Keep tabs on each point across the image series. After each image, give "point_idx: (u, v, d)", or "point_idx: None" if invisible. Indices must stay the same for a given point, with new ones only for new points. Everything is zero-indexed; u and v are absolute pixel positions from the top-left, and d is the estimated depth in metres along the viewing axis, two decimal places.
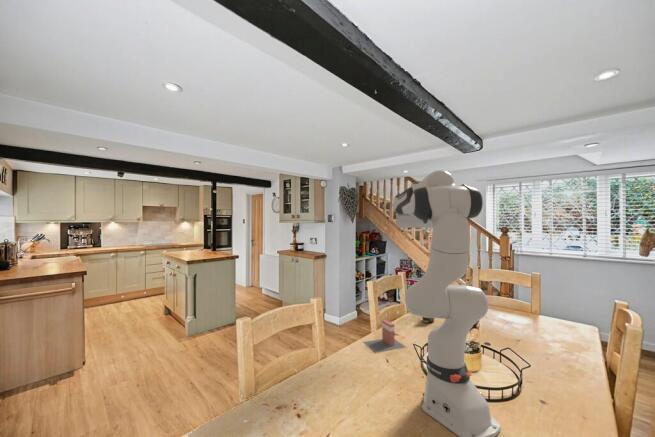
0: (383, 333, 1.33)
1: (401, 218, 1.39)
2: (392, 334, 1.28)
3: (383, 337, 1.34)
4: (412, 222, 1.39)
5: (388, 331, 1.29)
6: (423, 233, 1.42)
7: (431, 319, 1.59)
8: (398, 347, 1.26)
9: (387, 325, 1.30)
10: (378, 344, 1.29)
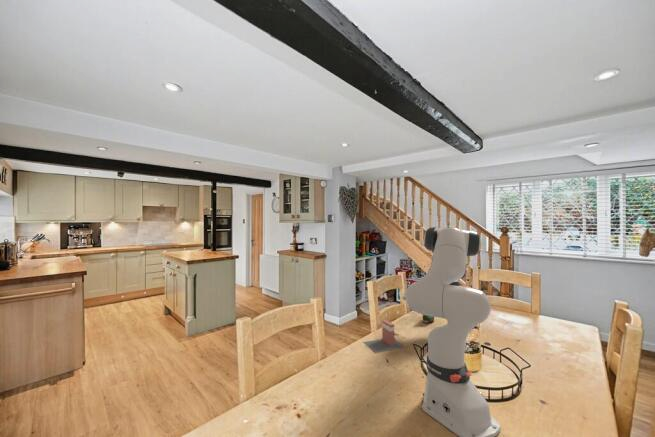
0: (383, 333, 1.33)
1: None
2: (392, 334, 1.28)
3: (383, 337, 1.34)
4: None
5: (388, 331, 1.29)
6: None
7: (431, 319, 1.59)
8: (398, 347, 1.26)
9: (387, 325, 1.30)
10: (378, 344, 1.29)
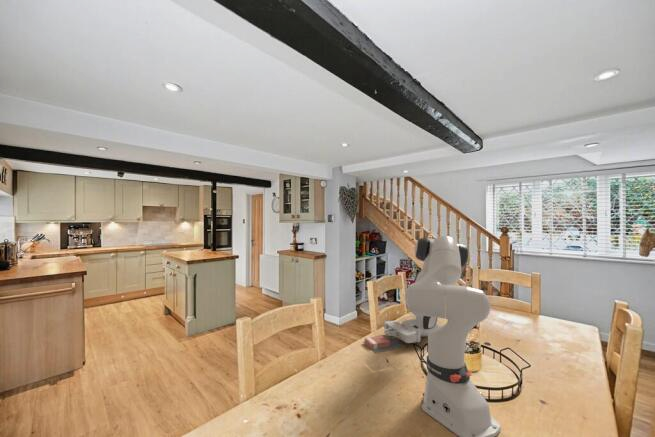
0: None
1: (394, 321, 1.42)
2: (380, 345, 1.26)
3: None
4: (397, 325, 1.36)
5: None
6: (387, 331, 1.31)
7: None
8: (398, 347, 1.26)
9: None
10: None
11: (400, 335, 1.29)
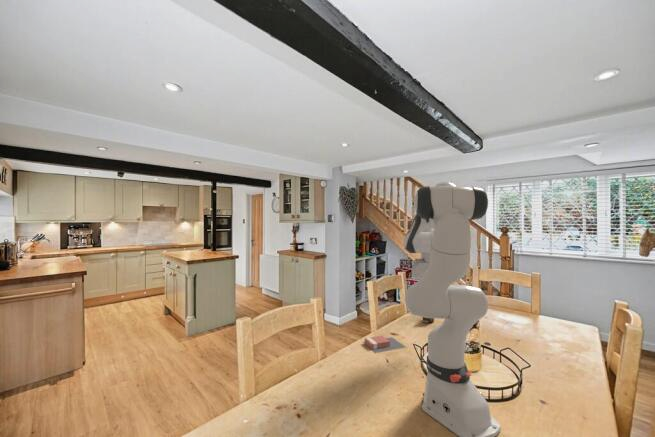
0: None
1: (420, 266, 1.25)
2: (380, 345, 1.26)
3: None
4: None
5: None
6: None
7: (431, 319, 1.59)
8: (398, 347, 1.26)
9: None
10: None
11: None
